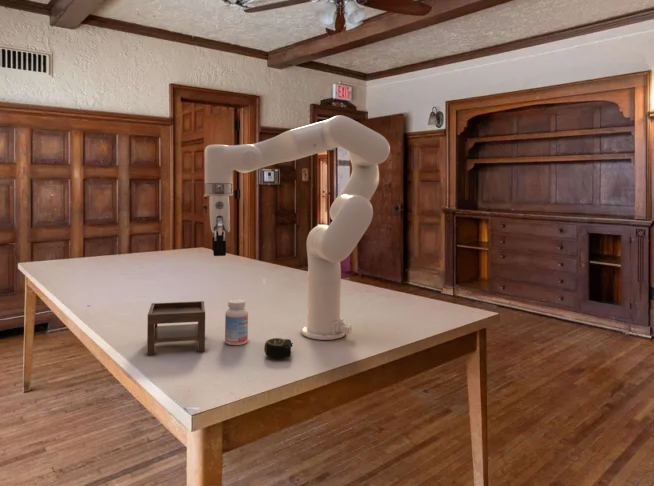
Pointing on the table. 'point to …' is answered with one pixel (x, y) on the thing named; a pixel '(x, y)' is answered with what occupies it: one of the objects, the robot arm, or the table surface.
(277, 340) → the tape measure
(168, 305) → the rack
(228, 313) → the pill bottle
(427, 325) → the table surface
